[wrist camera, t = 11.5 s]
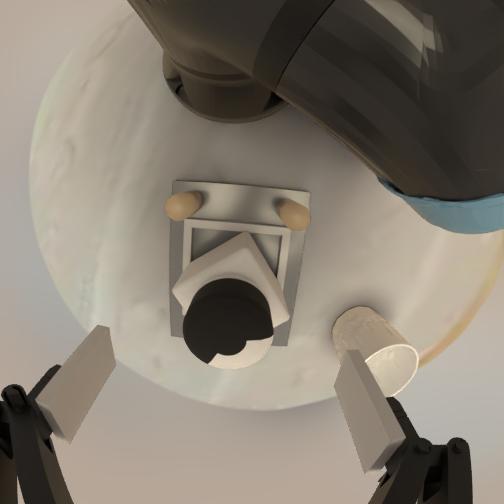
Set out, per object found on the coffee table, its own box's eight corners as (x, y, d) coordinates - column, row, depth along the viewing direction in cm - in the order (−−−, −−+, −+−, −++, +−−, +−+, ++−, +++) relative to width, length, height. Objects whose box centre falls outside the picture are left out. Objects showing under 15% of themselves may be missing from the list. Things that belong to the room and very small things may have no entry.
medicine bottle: (187, 263, 28) (150, 319, 17) (247, 228, 27) (247, 266, 16) (223, 317, 30) (212, 393, 18) (281, 287, 29) (301, 354, 17)
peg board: (175, 180, 28) (153, 181, 21) (308, 192, 29) (326, 196, 22) (173, 330, 33) (158, 365, 26) (285, 341, 33) (293, 377, 26)
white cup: (332, 361, 34) (354, 412, 25) (321, 314, 32) (345, 363, 23) (385, 340, 34) (417, 384, 24) (379, 292, 32) (419, 331, 22)
